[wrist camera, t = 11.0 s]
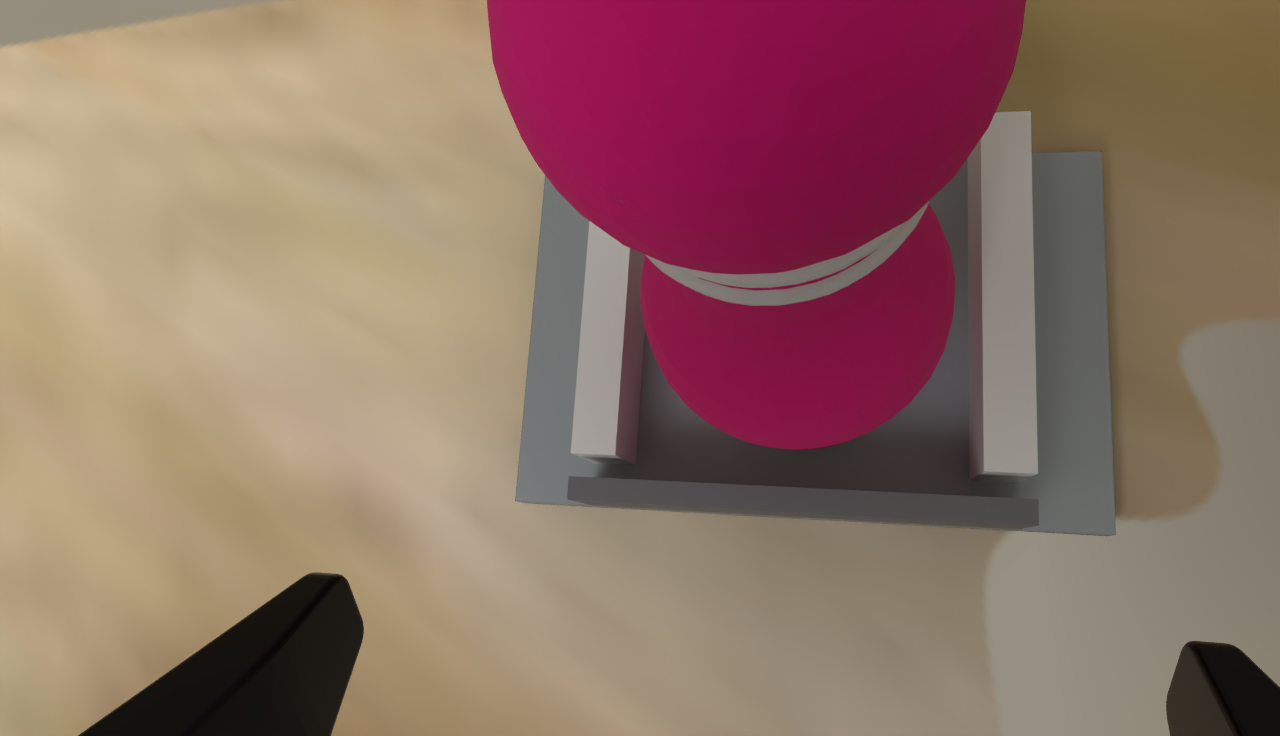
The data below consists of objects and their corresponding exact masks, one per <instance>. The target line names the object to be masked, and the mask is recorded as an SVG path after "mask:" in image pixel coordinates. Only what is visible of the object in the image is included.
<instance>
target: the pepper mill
mask: <svg viewBox="0 0 1280 736" xmlns="http://www.w3.org/2000/svg"><path fill="white" fill-rule="evenodd" d="M1025 3H1026V0H487V8H488V18H489V28H490V38H491V48H492V58H493V64H494V67H495V70H496V74H497V77H498V80H499V84H500V87H501V90H502V93H503V96H504V98H505V100H506V103H507V105H508V108H509V110H510V112H511V115H512V117H513V119H514V122H515V124H516V126H517V128H518V131H519V133H520V135H521V137H522V139H523V141H524V143H525V144H526V146H527V148H528V150H529V151H530V153H531V155H532V156H533V158H534V160H535V162H536V163H537V164H538V166H539V167H540V168H541V170H542V171H543V172H544V174H545V175H546V177H547V178H548V179H549V181H550V182H551V183H552V185H553V186H554V187H555V189H556V190H557V191H558V192H559V193H560V194H561V195H562V196H563V197H564V198H565V199H566V200H567V201H568V202H569V203H570V204H571V205H572V206H573V207H574V208H575V209H576V210H577V211H578V212H579V213H580V214H581V215H582V216H583V217H585V218H586V219H588V220H589V221H590V222H592V223H593V224H595V225H596V226H597V227H599V228H600V229H602V230H603V231H604V232H606V233H607V234H609V235H610V236H611V237H613V238H614V239H616V240H617V241H618V242H620V243H621V244H623V245H624V246H627V247H629V248H631V249H633V250H636V251H638V252H640V253H643V254H645V256H644V262H643V268H642V274H641V281H640V305H641V311H642V318H643V324H644V328H645V331H646V334H647V337H648V340H649V343H650V346H651V349H652V352H653V354H654V356H655V359H656V361H657V362H658V364H659V366H660V368H661V370H662V372H663V374H664V376H665V378H666V380H667V382H668V384H669V385H670V386H671V387H672V389H673V390H674V391H675V392H676V393H677V395H678V396H679V397H680V398H681V399H682V400H683V402H684V403H685V404H686V405H687V406H688V407H689V408H690V409H691V410H692V411H694V412H695V413H696V414H697V415H698V416H700V417H701V418H702V419H703V420H704V421H706V422H707V423H709V424H711V425H712V426H714V427H716V428H717V429H719V430H721V431H722V432H724V433H726V434H728V435H731V436H733V437H736V438H738V439H741V440H743V441H746V442H749V443H753V444H757V445H761V446H766V447H770V448H780V449H793V450H798V449H817V448H823V447H829V446H833V445H836V444H839V443H843V442H847V441H849V440H852V439H854V438H856V437H859V436H861V435H864V434H866V433H869V432H871V431H872V430H874V429H875V428H877V427H879V426H880V425H882V424H884V423H885V422H887V421H888V420H890V419H892V418H893V417H894V416H895V415H896V414H898V413H899V412H900V411H901V410H902V409H903V408H905V407H906V406H907V405H908V404H909V403H910V402H911V401H912V400H913V399H914V398H915V396H916V395H917V394H918V393H919V391H920V390H921V389H922V388H923V387H924V385H925V384H926V383H927V382H928V380H929V379H930V378H931V376H932V374H933V372H934V370H935V368H936V366H937V364H938V362H939V360H940V358H941V356H942V354H943V352H944V350H945V346H946V343H947V339H948V335H949V332H950V328H951V324H952V320H953V313H954V299H955V273H954V267H953V261H952V255H951V249H950V246H949V244H948V241H947V239H946V237H945V234H944V232H943V230H942V227H941V225H940V223H939V220H938V218H937V216H936V214H935V212H934V211H933V209H932V208H931V206H930V204H929V201H930V200H931V199H932V198H933V197H934V196H935V195H936V194H937V193H938V192H939V191H940V190H941V189H942V188H943V187H944V186H945V185H947V184H948V183H949V182H950V181H951V180H952V179H953V178H954V177H955V175H956V174H957V173H958V171H959V170H960V168H961V167H962V165H963V164H964V162H965V161H966V160H967V158H968V157H969V155H970V154H971V152H972V151H973V149H974V148H975V147H976V145H977V144H978V142H979V141H980V139H981V138H982V136H983V135H984V133H985V132H986V131H987V129H988V128H989V125H990V123H991V121H992V119H993V116H994V114H995V112H996V109H997V107H998V105H999V103H1000V100H1001V98H1002V96H1003V93H1004V91H1005V89H1006V87H1007V84H1008V82H1009V80H1010V77H1011V75H1012V73H1013V69H1014V65H1015V61H1016V56H1017V52H1018V48H1019V43H1020V39H1021V35H1022V29H1023V20H1024V11H1025Z"/></svg>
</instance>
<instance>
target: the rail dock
mask: <svg viewBox="0 0 1280 736" xmlns="http://www.w3.org/2000/svg"><path fill="white" fill-rule="evenodd" d="M929 204H930V206H931V208H932V209H933V211H934V212H935V214H936V216H937V218H938V220H939V223H940V225H941V227H942V230H943V232H944V234H945V237H946V239H947V241H948V244H949V246H950V249H951V255H952V261H953V267H954V273H955V299H954V313H953V320H952V324H951V328H950V332H949V335H948V339H947V343H946V346H945V350H944V352H943V354H942V356H941V358H940V360H939V362H938V364H937V366H936V368H935V370H934V372H933V374H932V376H931V378H930V379H929V380H928V382H927V383H926V384H925V385H924V387H923V388H922V389H921V390H920V391H919V393H918V394H917V395H916V396H915V398H914V399H913V400H912V401H911V402H910V403H909V404H908V405H907V406H906V407H905V408H903V409H902V410H901V411H900V412H899V413H898V414H896V415H895V416H894V417H893V418H892V419H890V420H888V421H887V422H885V423H884V424H882V425H880V426H879V427H877V428H875V429H874V430H872V431H871V432H869V433H866V434H864V435H861V436H859V437H856V438H854V439H852V440H849V441H847V442H843V443H839V444H836V445H833V446H829V447H823V448H817V449H798V450H793V449H780V448H770V447H766V446H761V445H757V444H753V443H749V442H746V441H743V440H741V439H738V438H736V437H733V436H731V435H728V434H726V433H724V432H722V431H721V430H719V429H717V428H716V427H714V426H712V425H711V424H709V423H707V422H706V421H704V420H703V419H702V418H701V417H700V416H698V415H697V414H696V413H695V412H694V411H692V410H691V409H690V408H689V407H688V406H687V405H686V404H685V403H684V402H683V400H682V399H681V398H680V397H679V396H678V395H677V393H676V392H675V391H674V390H673V389H672V387H671V386H670V385H669V384H668V382H667V380H666V378H665V376H664V374H663V372H662V370H661V368H660V366H659V364H658V362H657V361H656V359H655V356H654V354H653V352H652V349H651V346H650V343H649V340H648V337H647V334H646V331H645V328H644V324H643V318H642V311H641V305H640V281H641V274H642V268H643V262H644V256H645V254H643V253H640V252H638V251H636V250H633V249H631V248H629V247H627V246H624V245H623V244H621V243H620V242H618V241H617V240H616V239H614V238H613V237H611V236H610V235H609V234H607V233H606V232H604V231H603V230H602V229H600V228H599V227H597V226H596V225H595V224H593V223H592V222H590V221H589V220H588V219H586V218H585V217H583V216H582V215H581V214H580V213H579V212H578V211H577V210H576V209H575V208H574V207H573V206H572V205H571V204H570V203H569V202H568V201H567V200H566V199H565V198H564V197H563V196H562V195H561V194H560V193H559V192H558V191H557V190H556V189H555V187H554V186H553V185H552V183H551V182H550V181H549V179H548V178H547V177H546V175H545V183H544V194H543V205H542V216H541V227H540V237H539V248H538V259H537V270H536V281H535V292H534V303H533V313H532V324H531V335H530V346H529V357H528V368H527V379H526V390H525V400H524V411H523V422H522V433H521V444H520V455H519V466H518V477H517V487H516V498H515V501H517V502H522V503H534V504H552V505H569V506H587V507H605V508H622V509H640V510H657V511H675V512H693V513H710V514H728V515H746V516H763V517H781V518H798V519H816V520H834V521H851V522H869V523H886V524H904V525H922V526H939V527H957V528H975V529H992V530H1010V531H1029V532H1046V533H1064V534H1081V535H1099V536H1111V535H1115V534H1116V531H1115V530H1116V527H1115V500H1114V472H1113V445H1112V418H1111V390H1110V363H1109V336H1108V308H1107V281H1106V253H1105V226H1104V199H1103V171H1102V151H1084V152H1047V153H1031V111H1016V112H995V114H994V116H993V119H992V121H991V123H990V125H989V128H988V129H987V131H986V132H985V133H984V135H983V136H982V138H981V139H980V141H979V142H978V144H977V145H976V147H975V148H974V149H973V151H972V152H971V154H970V155H969V157H968V158H967V160H966V161H965V162H964V164H963V165H962V167H961V168H960V170H959V171H958V173H957V174H956V175H955V177H954V178H953V179H952V180H951V181H950V182H949V183H948V184H947V185H945V186H944V187H943V188H942V189H941V190H940V191H939V192H938V193H937V194H936V195H935V196H934V197H933V198H932V199H931V200H930V201H929Z"/></svg>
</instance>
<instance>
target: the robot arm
mask: <svg viewBox="0 0 1280 736" xmlns="http://www.w3.org/2000/svg"><path fill="white" fill-rule="evenodd" d="M363 633H364V627H363V620H362V617H361V615H360V612H359V609H358V607H357V604H356V601H355V599H354V596H353V593H352V591H351V588H350V585H349V583H348V581H347V579H346V578H344V577H343V576H342V575H339V574H330V573H310V574H307V575H305V576H304V577H302V578H301V579H299V580H298V581H296V582H295V583H294V584H292V585H291V586H289V587H288V588H287V589H285V590H284V591H282V592H281V593H279V594H278V595H277V596H275V597H274V598H272V599H271V600H270V601H268V602H267V603H265V604H264V605H262V606H261V607H260V608H258V609H257V610H255V611H254V612H253V613H251V614H250V615H248V616H247V617H245V618H244V619H243V620H241V621H240V622H238V623H237V624H236V625H234V626H233V627H231V628H230V629H228V630H227V631H226V632H224V633H223V634H221V635H220V636H219V637H217V638H216V639H214V640H213V641H211V642H210V643H209V644H207V645H206V646H204V647H203V648H201V649H200V650H199V651H197V652H196V653H194V654H193V655H192V656H190V657H189V658H187V659H186V660H184V661H183V662H182V663H180V664H179V665H177V666H176V667H175V668H173V669H172V670H170V671H169V672H167V673H166V674H165V675H163V676H162V677H160V678H159V679H158V680H156V681H155V682H153V683H152V684H150V685H149V686H148V687H146V688H145V689H143V690H142V691H141V692H139V693H138V694H136V695H135V696H133V697H132V698H131V699H129V700H128V701H126V702H125V703H124V704H122V705H121V706H119V707H118V708H116V709H115V710H114V711H112V712H111V713H109V714H108V715H107V716H105V717H104V718H102V719H101V720H99V721H98V722H97V723H95V724H94V725H92V726H91V727H90V728H88V729H87V730H85V731H84V732H82V733H81V734H80V735H78V736H331V733H332V730H333V727H334V724H335V721H336V718H337V715H338V712H339V709H340V706H341V703H342V700H343V697H344V694H345V691H346V688H347V685H348V682H349V679H350V676H351V674H352V671H353V668H354V665H355V662H356V659H357V656H358V653H359V650H360V647H361V643H362V640H363ZM1166 703H1167V704H1166V710H1167V720H1168V725H1169V731H1170V736H1280V687H1279V686H1278V685H1277V684H1276V683H1275V682H1274V681H1272V680H1271V679H1270V678H1269V677H1268V676H1267V675H1266V674H1265V673H1264V672H1263V671H1262V670H1261V669H1260V668H1259V667H1258V666H1257V665H1256V664H1255V663H1254V662H1253V661H1252V660H1251V659H1250V658H1249V657H1248V656H1246V655H1245V654H1244V653H1243V652H1242V651H1241V650H1240V649H1238V648H1237V647H1235V646H1233V645H1230V644H1225V643H1213V642H1201V641H1191V642H1188V643H1187V644H1185V646H1184V647H1183V649H1182V651H1181V654H1180V657H1179V660H1178V663H1177V666H1176V669H1175V672H1174V675H1173V678H1172V681H1171V685H1170V688H1169V691H1168V694H1167V701H1166Z"/></svg>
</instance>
